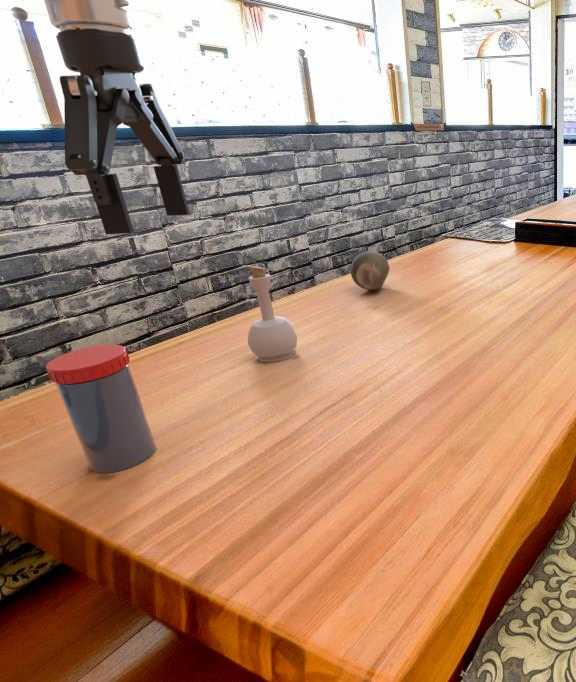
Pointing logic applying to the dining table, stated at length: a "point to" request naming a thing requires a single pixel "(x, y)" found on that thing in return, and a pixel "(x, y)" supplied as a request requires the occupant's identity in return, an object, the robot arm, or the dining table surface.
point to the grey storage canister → (109, 421)
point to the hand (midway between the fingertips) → (152, 223)
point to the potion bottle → (269, 325)
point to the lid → (87, 364)
